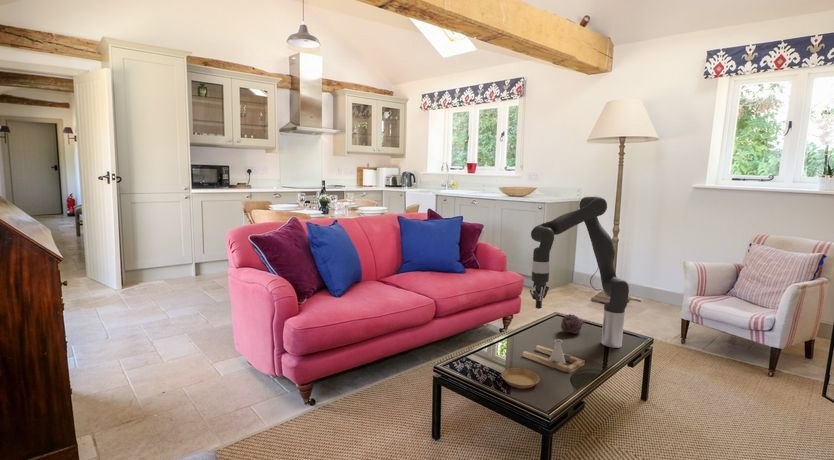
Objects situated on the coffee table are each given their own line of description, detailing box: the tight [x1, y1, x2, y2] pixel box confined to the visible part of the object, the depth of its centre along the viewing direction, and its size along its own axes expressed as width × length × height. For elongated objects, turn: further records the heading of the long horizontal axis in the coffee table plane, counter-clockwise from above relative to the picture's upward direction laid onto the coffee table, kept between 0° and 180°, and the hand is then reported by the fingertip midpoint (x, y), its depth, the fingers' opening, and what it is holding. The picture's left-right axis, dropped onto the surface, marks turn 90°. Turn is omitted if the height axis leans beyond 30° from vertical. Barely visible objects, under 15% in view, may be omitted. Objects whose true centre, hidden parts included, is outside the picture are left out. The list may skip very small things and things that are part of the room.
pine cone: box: [560, 314, 586, 335], centre depth 233 cm, size 18×10×10 cm, turn 128°
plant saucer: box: [501, 367, 540, 389], centre depth 177 cm, size 15×15×3 cm
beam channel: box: [522, 344, 586, 374], centre depth 198 cm, size 13×23×2 cm, turn 44°
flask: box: [548, 339, 567, 365], centre depth 196 cm, size 7×7×10 cm
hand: (538, 308), depth 202 cm, fingers closed
